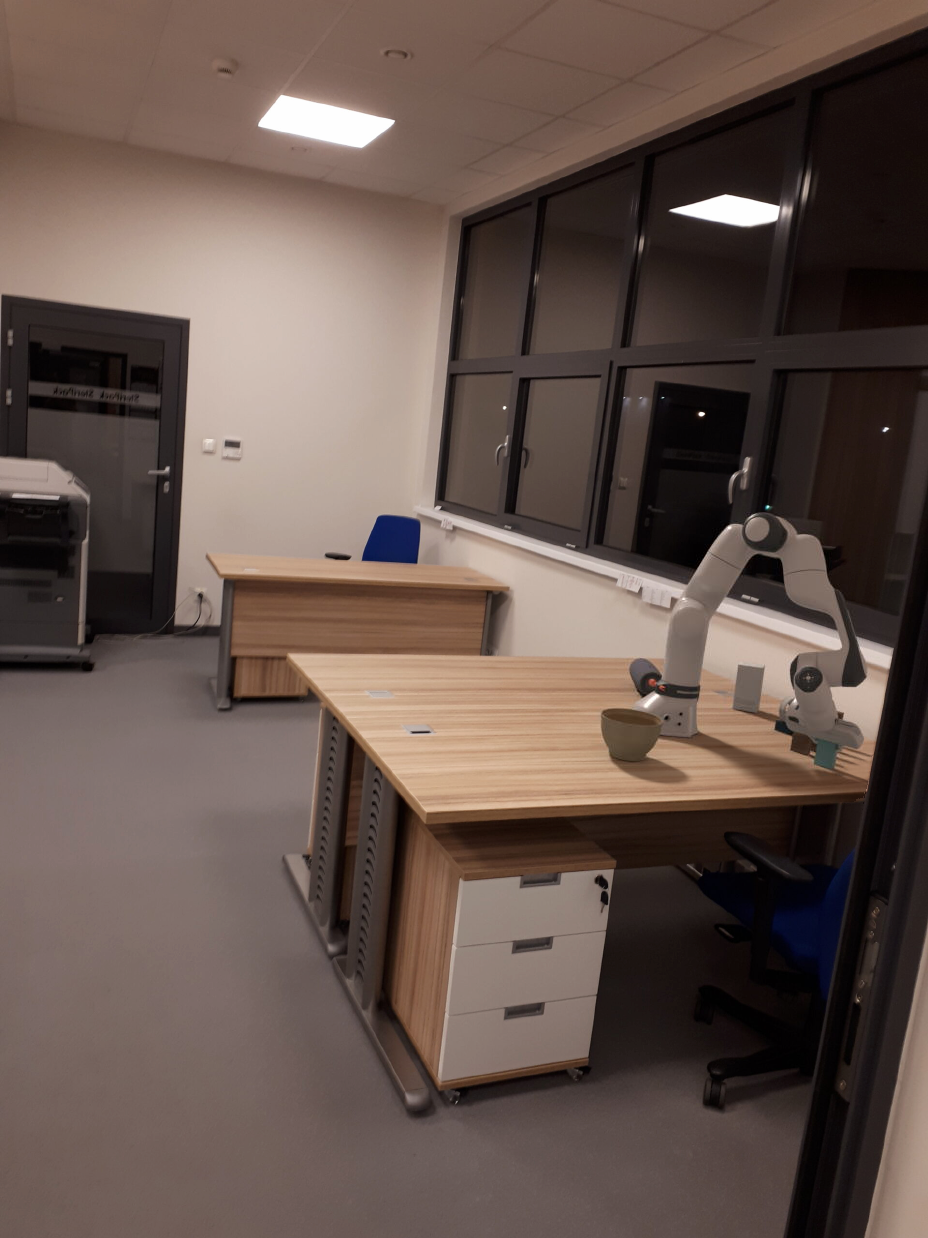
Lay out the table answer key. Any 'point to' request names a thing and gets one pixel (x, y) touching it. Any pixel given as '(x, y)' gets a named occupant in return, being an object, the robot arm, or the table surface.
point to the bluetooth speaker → (644, 675)
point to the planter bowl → (630, 732)
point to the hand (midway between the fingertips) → (828, 745)
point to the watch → (783, 717)
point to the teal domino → (825, 754)
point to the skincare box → (748, 687)
